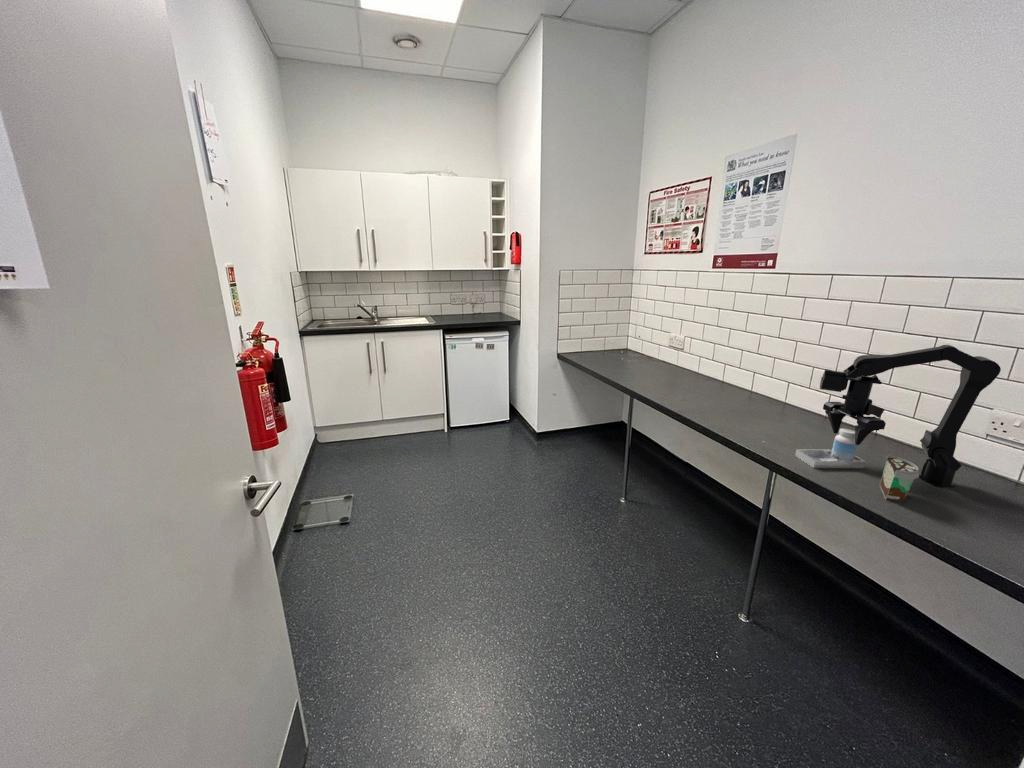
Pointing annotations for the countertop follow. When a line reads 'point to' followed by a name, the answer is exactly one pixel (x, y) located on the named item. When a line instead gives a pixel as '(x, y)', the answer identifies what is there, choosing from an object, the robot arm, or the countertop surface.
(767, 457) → the countertop surface
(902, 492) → the food container
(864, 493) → the countertop surface
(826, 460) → the grey tray
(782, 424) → the countertop surface
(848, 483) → the countertop surface
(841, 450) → the pill bottle
